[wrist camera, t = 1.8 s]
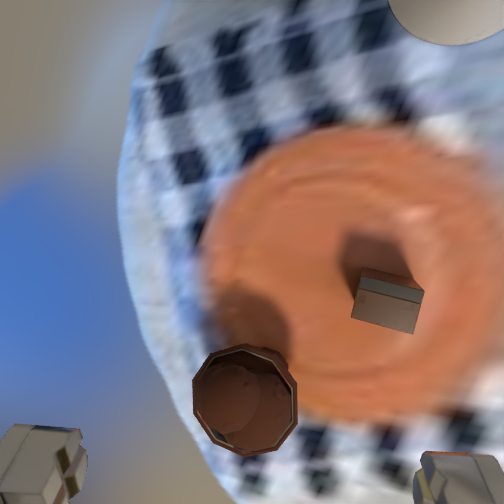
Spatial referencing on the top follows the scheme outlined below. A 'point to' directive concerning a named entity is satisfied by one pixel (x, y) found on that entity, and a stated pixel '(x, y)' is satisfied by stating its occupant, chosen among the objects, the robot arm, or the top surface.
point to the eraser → (387, 300)
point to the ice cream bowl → (246, 399)
